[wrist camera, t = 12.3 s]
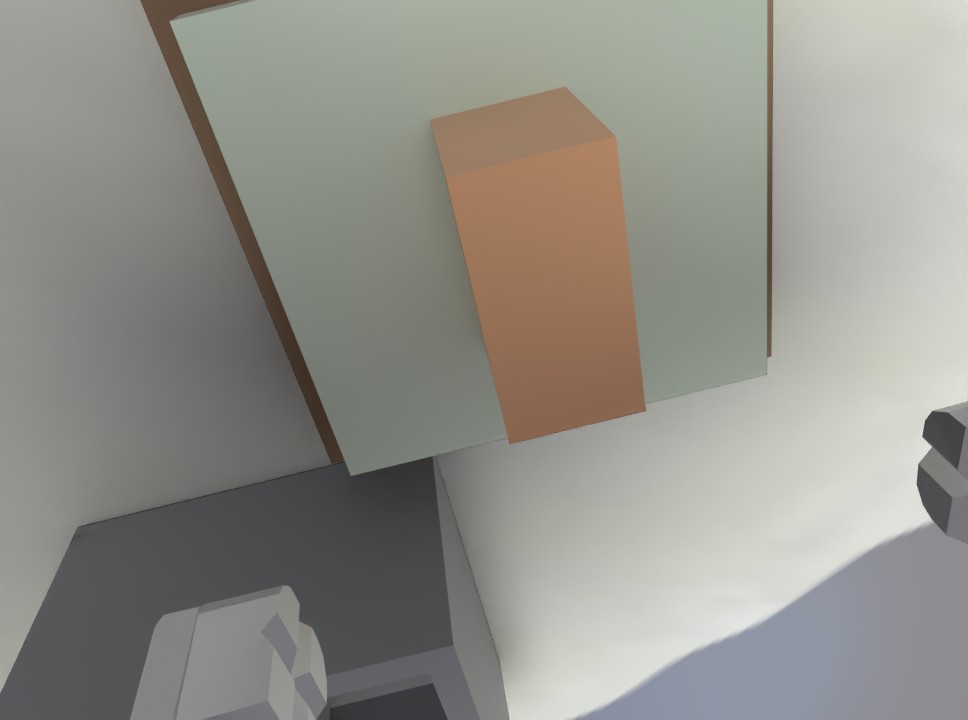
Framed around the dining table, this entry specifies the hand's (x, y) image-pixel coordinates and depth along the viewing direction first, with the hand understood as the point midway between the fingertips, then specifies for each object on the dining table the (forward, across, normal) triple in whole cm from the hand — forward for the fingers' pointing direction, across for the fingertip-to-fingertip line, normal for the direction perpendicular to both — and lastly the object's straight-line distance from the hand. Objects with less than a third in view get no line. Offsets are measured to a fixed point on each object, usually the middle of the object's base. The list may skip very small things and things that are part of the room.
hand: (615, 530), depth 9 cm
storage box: (+13, +9, +14) cm, 21 cm away
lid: (+12, -1, 0) cm, 12 cm away
